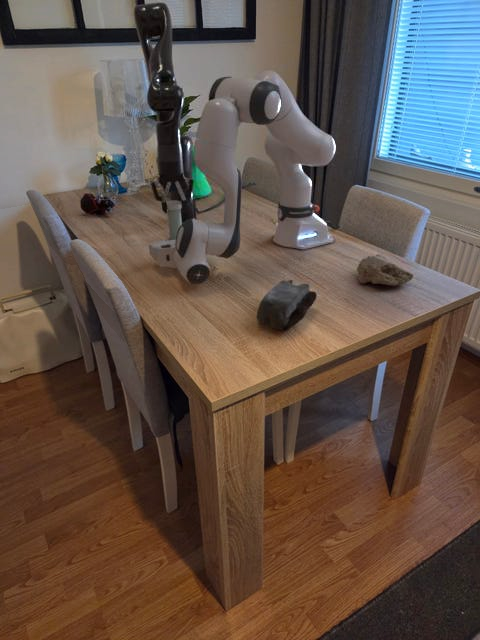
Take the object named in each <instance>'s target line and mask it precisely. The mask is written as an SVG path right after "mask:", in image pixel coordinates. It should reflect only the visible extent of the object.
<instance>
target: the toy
mask: <svg viewBox="0 0 480 640" xmlns="http://www.w3.org/2000/svg"><path fill="white" fill-rule="evenodd" d="M101 196H102V193H101V192H97V193H96V194H95V195H94V194H93V193H91V192H90V193H84V195H83V196H82V197H81V198H80V200H79V201H80V203H79V204H80V209H81V210H82V211H83V212H84V213H85V214H88V215H92V216H98V217H106V218H109V216H108V215H107V213H108V214H113V213H114V212H115V209H114V207H115V206H116V204H117V201H116V200H115V199H114V198H113V197H111V196H110V197H107V196H102V197H101Z"/></svg>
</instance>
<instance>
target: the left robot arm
mask: <svg viewBox="0 0 480 640" xmlns="http://www.w3.org/2000/svg"><path fill="white" fill-rule="evenodd" d="M133 18H134V19H133V20H134V24H135V29H136V32H137V36H138V39H139V43H140V47H141V50H142V54H143V58H144V62H145V66H146V72H147V76H148V81H149V85H148V88H147V92H146V93H147V94H146V103H147V106H148V108H149V109H150V110H151V111H152V112H154V113H155V114H156V118H157V123H156V124H155V131H156V133H155V134H156V143H157V144H156V148H157V149H156V150H157V163H158V174H159V175H158V179H156V180H150V182H149V184H150V187H151V189H152V193H153V196H154V198H155V200H156V201H157V202H160V203H161V211H162V212H163V213H164V214H168V210H167V203H166V202H167V197H168V196H169V195H170V196H169V197H170V201H180V202H181V203H182V208H181V221H182V224H183V223H184V222H185V221H186V220H188V219H195V220H197V214H202V213H206V212H208V211H211V210H213V209H216V208H217V207H218V206H221V205H222V204H223V203H225V198H223V199H222V200H221V201H220V202H218V203H217V204H215V205H213V206H210V207H208V208H206V209H204V210H200V211H199V209H198V207H197V205H196V199H195V197H194V196H193V183H194V181H193V179H192V142H191V139H190V138H191V137H190V136H188V135H181V119H182V113H183V107H184V102H185V94H184V90H183V89H182V88H181V86H180V85H178V83H177V79H176V75H175V70H174V63H173V22H172V17H171V12H170V9H169V7H168V4H166V3H165V2H152V3H144V4H138V5H136V6H134V9H133ZM151 40H158V41H157V43H156V44H155V46H153V45H152V42H151ZM255 183H256V182H254V183H253V185H254V186H256V185H257V183H256V184H255ZM159 184H160V186H161V187H162V189H161V190H162V191H161V195H159V192H158V188H159ZM251 185H252V184H251V182H249V183H247V184H245V185H242V189H243V188H246V187H249V186H251ZM169 192H170V193H169Z"/></svg>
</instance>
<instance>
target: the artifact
mask: <svg viewBox="0 0 480 640" xmlns="http://www.w3.org/2000/svg"><path fill="white" fill-rule="evenodd" d="M356 271H357V280H358V281H359V282H360V284H363V285H364V284H366V283H371V284H374V285H375V284H376V285H380V284H381V285H386V286H397V285H400V284H403V285H404V284H406V283H407V282H410V281H412V279H413V277H414V274H413V273H411V272H410V271H407V270H405V269H403V268H401V267H400V266H398V265H396V264H395V263H392V262H390V261H389V260H388V259H387V258H386V257H385V256H384V255H382V254H376V255H372V256H370V255H368V256H367V257H364V258H362V259H361V260H360V261H359V263H358V266H357V268H356Z"/></svg>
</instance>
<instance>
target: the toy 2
mask: <svg viewBox="0 0 480 640" xmlns="http://www.w3.org/2000/svg"><path fill="white" fill-rule="evenodd" d="M189 138H190V139H191V142H192V179H193V181H194V183H193V196H194V197H195V200H196V199H202V198H205V197H207V196H209V195H210V194H212V188H211V186H210V184H209V182H208V180H207V177H206V176H205V175H204V174H203V173H202V172H201V171H200V170H199V169H198V168H197V166H196V164H195V161H194V142H193V141H194V140H193V138H192V137H189ZM168 194H170V192H168Z"/></svg>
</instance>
